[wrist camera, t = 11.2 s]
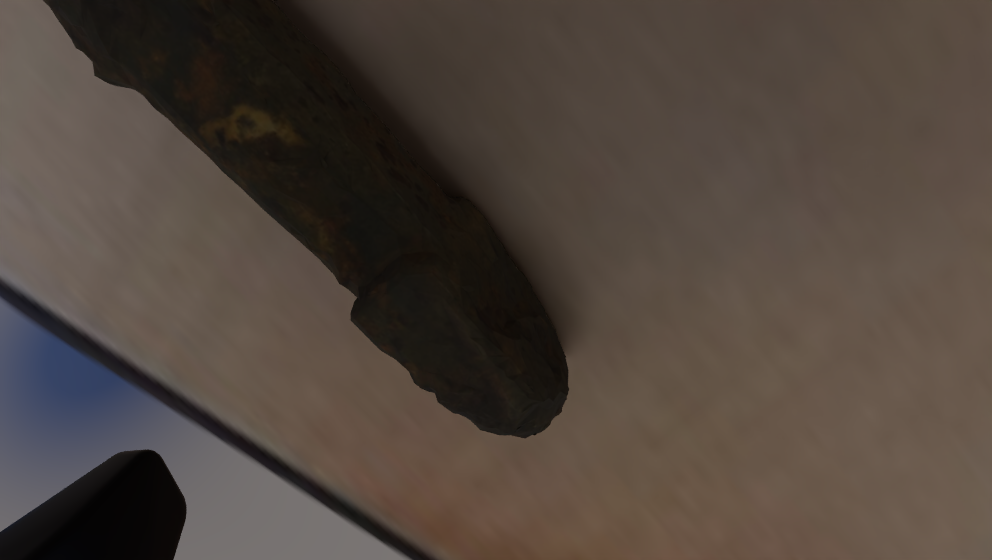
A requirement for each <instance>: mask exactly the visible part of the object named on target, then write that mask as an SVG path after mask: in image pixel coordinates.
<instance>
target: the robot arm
mask: <svg viewBox="0 0 992 560" xmlns="http://www.w3.org/2000/svg"><path fill="white" fill-rule="evenodd" d="M185 519H186V502H185V498H184V496H183V494H182V492H181V491H180V489H179V487H178V485H177V484H176V482H175V480H174V478H173V477H172V475H171V473H170V471H169V469H168V468H167V466H166V464H165V463H164V461H163V459H162V457H161V456H160V455H159V454H158V453H156V452H155V451H152V450H134V451H124V452H120V453H117V454H115V455H114V456H112V457H111V458H109V459H108V460H107V461H105V462H103V463H102V464H100V465H99V466H98V467H96V468H94V469H93V470H91V471H90V472H88V473H87V474H86V475H84V476H83V477H81V478H80V479H78V480H77V481H75V482H74V483H72V484H71V485H69V486H68V487H67V488H65V489H64V490H62V491H60V492H59V493H57V494H56V495H54V496H53V497H51V498H50V499H49V500H47V501H46V502H44V503H43V504H41V505H40V506H38V507H37V508H35V509H34V510H32V511H31V512H29V513H28V514H26V515H25V516H23V517H22V518H20V519H19V520H17V521H16V522H14V523H13V524H11V525H10V526H8V527H7V528H6V529H4V530H3V531H1V532H0V560H173V559H174V556H175V553H176V549H177V546H178V543H179V540H180V536H181V533H182V530H183V526H184V523H185Z"/></svg>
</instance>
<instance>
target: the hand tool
mask: <svg viewBox="0 0 992 560" xmlns="http://www.w3.org/2000/svg"><path fill="white" fill-rule="evenodd" d="M43 1H44V2H45V3H46V4H47V5H48V6H49V7H50V8H51V10H52V11H53V13H54V14H55V16H56V17H57V19H58V20H59V22H60V23H61V25H62V26H63V27H64V29H65V30H66V32H67V33H68V35H69V36H70V38H71V39H72V41H73V43H74V45H75V47H76V48H77V49H79V50H80V51H82V52H84V54H85V55H86V56H87V57H88V58H89V59H90V60H91V61H92V62H93V67H94V74H95V76H96V77H98V78H100V79H102V80H103V81H105V82H107V83H109V84H112V85H115V86H120V87H126V88H131V89H134V90H136V91H138V92H139V93H141V94H142V95H143V96H144V97H145V98H146V99H147V100H148V101H149V103H150V104H151V105H152V106H153V107H154V108H155V109H156V110H157V111H159V112H160V113H161V114H163V115H164V116H165V117H167V118H168V119H169V120H170V121H171V122H172V123H173V124H174V125H175V126H176V127H177V128H178V129H179V130H180V131H181V132H182V133H183V134H184V135H185V136H186V137H187V138H189V139H190V140H191V141H192V142H193V143H194V144H195V145H196V146H197V147H199V148H200V149H201V150H202V151H203V152H204V153H205V154H206V155H207V156H208V157H210V158H211V159H212V161H213V162H214V163H215V164H216V165H217V166H218V167H219V168H220V169H221V170H222V171H223V172H224V173H225V174H226V175H227V176H228V177H229V178H231V179H232V180H233V181H234V182H235V183H236V184H237V185H238V186H240V187H241V188H242V189H243V190H244V191H245V192H246V193H247V194H248V195H249V196H250V197H251V198H252V199H253V200H254V201H255V202H256V203H257V204H258V205H259V206H260V207H261V208H262V209H263V210H264V211H266V212H267V213H268V214H269V215H270V216H271V217H272V218H274V219H275V220H276V221H277V222H278V223H279V224H280V225H281V226H283V227H284V228H285V229H286V230H287V231H288V232H289V233H291V234H292V235H293V236H294V237H295V238H296V239H297V240H299V241H300V242H301V243H302V244H303V245H304V246H305V247H306V248H308V249H309V250H310V251H311V252H312V253H313V254H314V255H315V256H316V257H317V258H319V259H320V260H321V261H322V263H323V264H324V265H325V266H326V267H327V268H328V269H329V270H330V271H331V272H332V273H333V274H334V276H335V277H336V279H337V281H338V282H339V284H341V285H342V286H344V287H346V288H347V289H348V290H350V291H351V292H352V293H353V294H354V295H355V296H356V297H357V299H356V300H355V302H354V305H353V307H352V310H351V321H352V322H353V323H354V324H355V325H356V326H357V327H358V328H359V329H360V330H361V331H362V332H363V333H364V334H365V335H366V336H367V337H368V338H369V339H370V340H371V341H372V342H373V343H374V344H375V345H376V346H377V347H378V348H379V349H380V350H381V351H382V352H384V353H386V354H388V355H389V356H391V357H393V358H394V359H396V360H397V361H398V362H399V363H400V364H401V365H402V366H404V367H405V368H406V369H407V370H408V371H409V372H410V375H411V377H412V379H413V381H414V383H415V384H416V385H418V386H419V387H420V388H422V389H424V390H426V391H429V392H433V393H435V395H436V398H437V401H438V402H439V403H440V404H441V405H443V406H444V407H446V408H447V409H448V410H450V411H451V412H453V413H455V414H460V415H462V416H464V417H466V418H468V419H469V420H471V421H472V422H473V423H474V424H475V425H476V426H477V427H478V428H479V429H480V430H482V431H486V432H490V433H494V434H497V435H513V436H517V437H521V438H527V437H529V436H531V435H536V434H537V433H540V432H542V431H543V430H545V429H546V428H547V427H548V426H549V425H550V423H551V420H552V419H553V418H554V417H555V416H557V415H559V414H560V413H561V412H562V407H563V405H564V402H565V400H566V399H567V395H568V391H569V388H568V366H567V362H566V358H565V357H566V356H565V354H564V352H563V349H562V347H561V344H560V342H559V339H558V337H557V334H556V331H555V329H554V327H553V326H552V324H551V322H550V321H549V319H548V317H547V316H546V313H545V310H544V309H543V307H542V305H541V304H540V302H539V301H538V299H537V297H536V296H535V294H534V293H533V291H532V287H531V285H530V284H529V282H528V281H527V279H526V278H525V276H524V275H523V273H522V272H521V271H520V270H518V269H517V268H516V266H515V265H514V263H513V262H512V260H511V259H510V257H509V256H508V254H507V253H506V251H505V250H504V247H503V246H502V244H501V243H500V241H499V240H498V238H497V237H496V235H495V234H494V232H493V231H492V229H491V228H490V226H489V224H488V223H487V221H486V220H485V218H484V216H483V215H482V214H481V213H480V212H479V211H478V210H477V209H476V208H475V207H474V206H473V205H472V204H471V203H470V202H469V201H468V200H466V199H464V198H450V197H448V196H447V195H446V194H445V193H444V192H443V191H442V190H441V188H440V187H439V186H438V185H437V184H436V183H435V181H434V180H433V179H432V178H431V177H430V176H429V175H428V174H427V173H426V172H425V171H424V170H423V169H422V168H421V167H420V166H419V165H418V164H417V163H416V162H415V160H414V159H413V158H412V157H411V156H410V155H409V153H408V152H407V151H406V150H405V149H404V148H403V146H402V145H401V144H400V143H399V142H398V140H397V139H396V138H395V137H394V136H393V134H392V133H391V132H390V131H389V130H388V128H387V127H386V126H385V125H384V124H383V123H382V122H381V121H380V120H379V118H378V117H377V116H376V115H375V114H374V113H373V112H372V111H371V110H370V109H369V108H368V107H367V105H366V104H365V103H364V102H363V101H362V100H361V99H360V98H359V97H358V96H357V95H356V94H355V92H354V91H353V89H352V88H351V86H350V84H349V83H348V81H347V80H346V78H345V77H344V76H343V75H342V74H341V72H340V71H339V70H338V69H337V68H336V67H335V65H334V64H333V63H332V62H331V61H330V60H329V59H328V58H327V56H326V55H325V54H324V53H322V52H321V51H320V50H319V49H318V48H317V47H315V46H314V45H313V44H312V43H311V42H310V41H308V40H307V39H306V38H305V37H304V36H303V35H302V34H301V33H300V32H299V31H298V30H297V28H296V27H295V26H294V25H293V24H292V23H291V22H290V20H289V19H288V18H287V17H286V16H285V15H284V14H283V12H282V11H281V10H280V9H279V8H278V7H277V5H276V4H275V3H274V2H273V1H272V0H43Z"/></svg>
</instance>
